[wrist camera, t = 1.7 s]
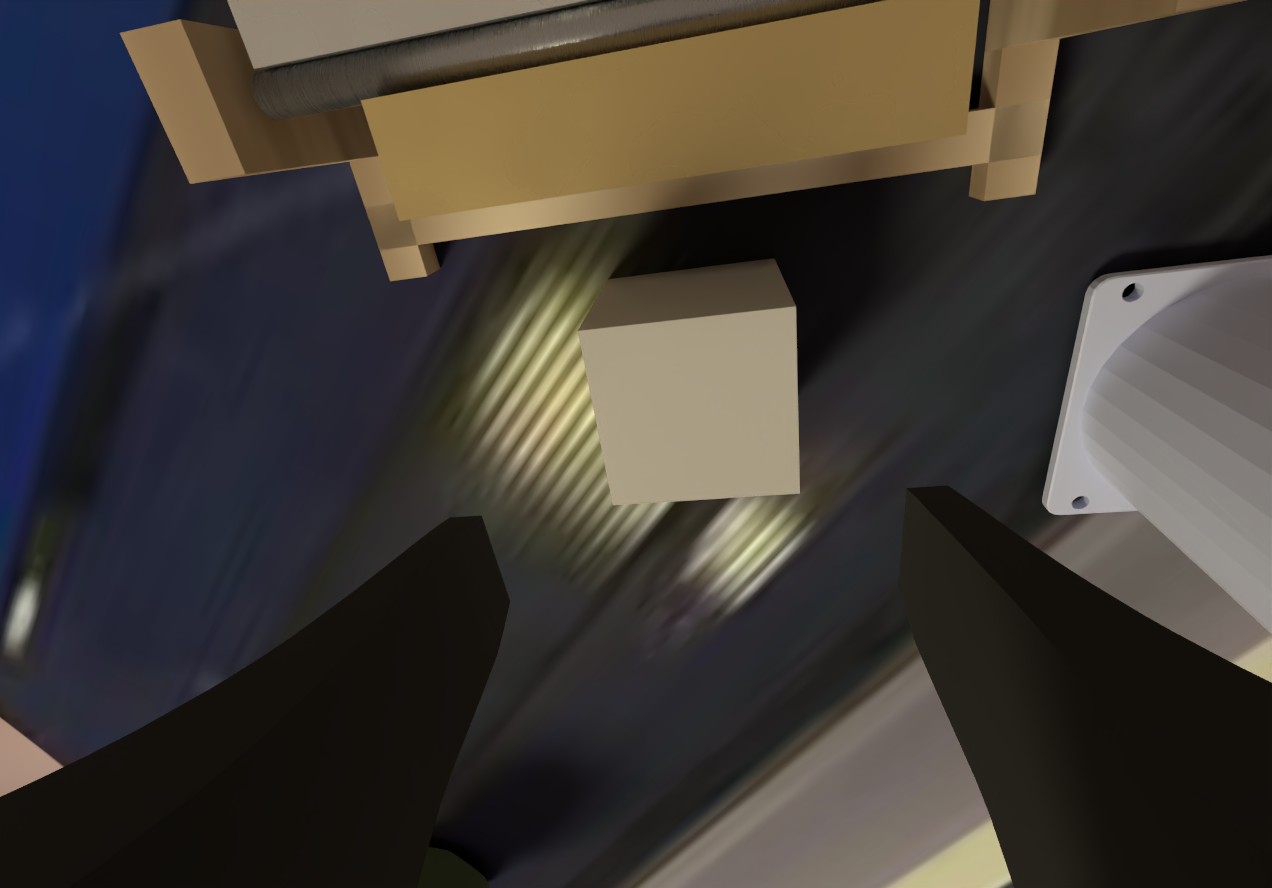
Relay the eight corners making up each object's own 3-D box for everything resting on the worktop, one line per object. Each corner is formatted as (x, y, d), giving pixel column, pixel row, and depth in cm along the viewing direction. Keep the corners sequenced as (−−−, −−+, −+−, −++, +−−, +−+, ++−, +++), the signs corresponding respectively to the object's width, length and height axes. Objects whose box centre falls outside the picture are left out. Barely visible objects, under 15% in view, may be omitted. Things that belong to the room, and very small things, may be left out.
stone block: (774, 257, 17) (796, 306, 13) (779, 409, 20) (799, 493, 16) (608, 278, 18) (577, 330, 14) (632, 422, 21) (613, 505, 16)
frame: (1059, -103, 13) (1350, -279, 7) (1016, 189, 16) (1201, 235, 10) (330, 48, 16) (110, 11, 10) (404, 273, 19) (266, 347, 13)
